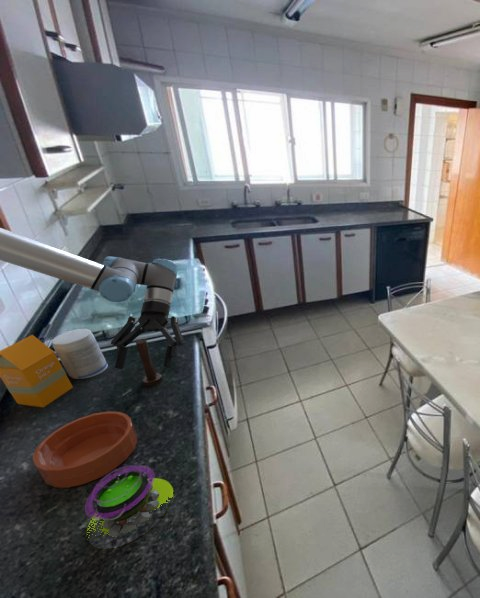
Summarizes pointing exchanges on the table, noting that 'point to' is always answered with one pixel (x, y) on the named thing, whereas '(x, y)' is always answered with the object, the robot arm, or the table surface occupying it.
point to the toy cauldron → (127, 500)
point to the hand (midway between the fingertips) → (143, 367)
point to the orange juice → (33, 373)
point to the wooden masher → (148, 364)
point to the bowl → (85, 449)
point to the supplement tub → (80, 353)
